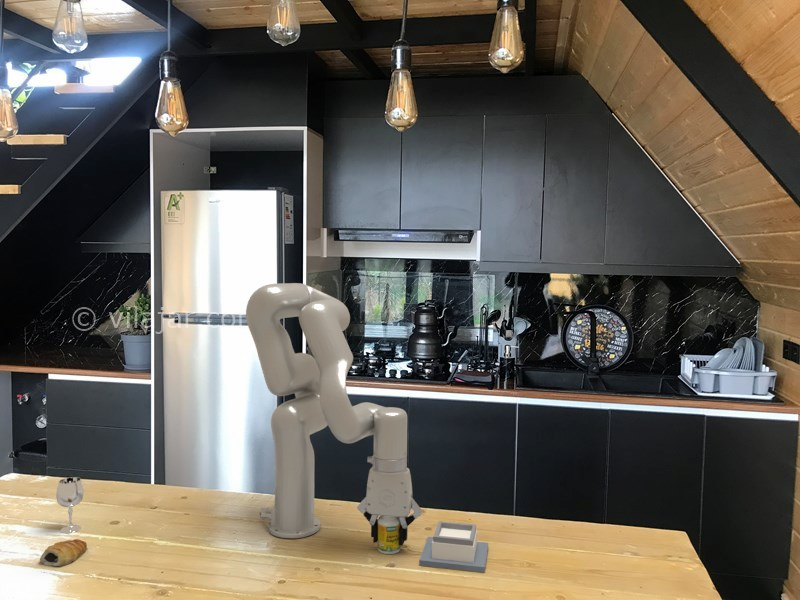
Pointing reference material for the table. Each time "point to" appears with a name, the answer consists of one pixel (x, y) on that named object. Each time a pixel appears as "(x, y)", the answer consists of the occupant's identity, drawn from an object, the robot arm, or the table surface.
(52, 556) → the pastry
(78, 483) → the wineglass
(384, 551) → the supplement bottle
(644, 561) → the table surface
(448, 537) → the display stand
